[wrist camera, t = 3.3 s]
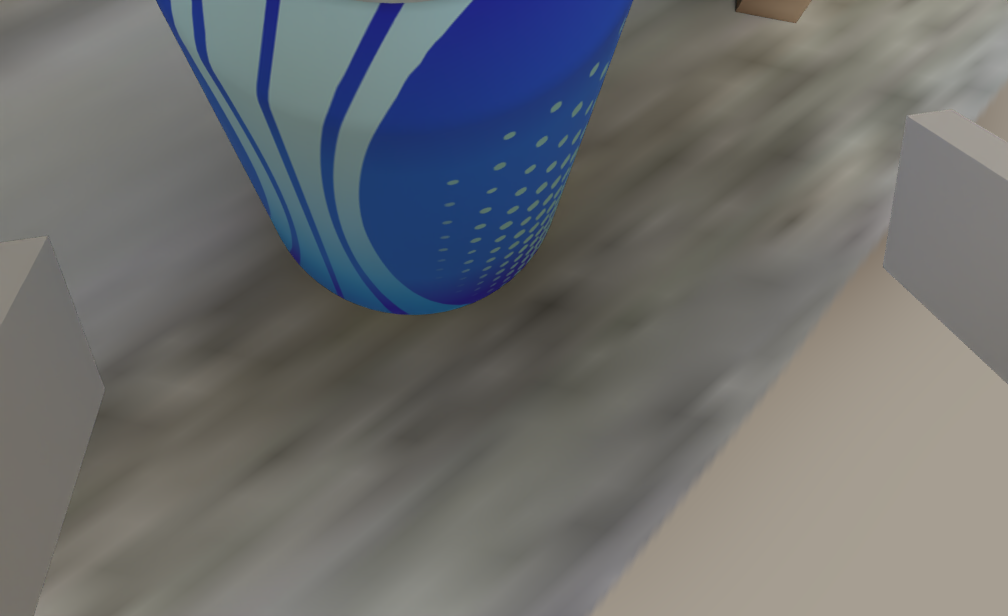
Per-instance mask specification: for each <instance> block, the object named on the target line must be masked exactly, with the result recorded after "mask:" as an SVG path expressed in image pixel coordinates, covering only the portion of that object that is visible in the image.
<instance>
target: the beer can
mask: <svg viewBox="0 0 1008 616" xmlns="http://www.w3.org/2000/svg"><path fill="white" fill-rule="evenodd" d="M156 1H157V3H158V5H159V7H160V9H161V11H162V13H163V15H164V17H165V19H166V21H167V22H168V24H169V26H170V28H171V30H172V32H173V34H174V36H175V38H176V40H177V41H178V43H179V45H180V47H181V49H182V51H183V53H184V55H185V57H186V59H187V61H188V62H189V64H190V66H191V68H192V70H193V72H194V74H195V76H196V78H197V80H198V81H199V83H200V85H201V87H202V89H203V91H204V93H205V95H206V97H207V99H208V101H209V102H210V104H211V106H212V108H213V110H214V112H215V114H216V116H217V118H218V120H219V121H220V123H221V125H222V127H223V129H224V131H225V133H226V135H227V137H228V139H229V140H230V142H231V144H232V146H233V148H234V150H235V152H236V154H237V156H238V158H239V160H240V161H241V163H242V165H243V167H244V169H245V171H246V173H247V175H248V177H249V179H250V180H251V182H252V184H253V186H254V188H255V190H256V192H257V194H258V196H259V198H260V199H261V201H262V203H263V205H264V207H265V209H266V211H267V213H268V215H269V217H270V219H271V220H272V222H273V224H274V226H275V228H276V230H277V232H278V234H279V236H280V238H281V239H282V241H283V243H284V244H285V246H286V248H287V249H288V251H289V252H290V254H291V255H292V256H293V257H294V259H295V260H296V261H297V263H298V264H299V265H300V266H301V267H302V268H303V269H304V270H305V271H306V272H307V273H308V274H309V275H310V276H311V277H312V278H314V279H315V280H316V281H317V282H318V283H319V284H321V285H322V286H324V287H325V288H327V289H328V290H330V291H331V292H333V293H335V294H336V295H338V296H340V297H342V298H343V299H346V300H348V301H350V302H352V303H355V304H357V305H360V306H363V307H366V308H369V309H372V310H377V311H381V312H385V313H393V314H401V315H423V314H434V313H440V312H446V311H450V310H453V309H457V308H461V307H463V306H466V305H469V304H471V303H474V302H476V301H478V300H480V299H482V298H484V297H486V296H488V295H490V294H491V293H493V292H495V291H496V290H498V289H499V288H501V287H502V286H503V285H505V284H506V283H507V282H509V281H510V280H511V279H512V278H513V277H514V276H515V275H517V274H518V273H519V272H520V271H521V270H522V269H523V268H524V266H525V265H526V264H527V263H528V262H529V261H530V260H531V258H532V257H533V255H534V254H535V253H536V251H537V250H538V248H539V247H540V245H541V243H542V241H543V240H544V238H545V236H546V234H547V232H548V229H549V227H550V225H551V222H552V219H553V217H554V214H555V211H556V209H557V206H558V203H559V200H560V198H561V195H562V192H563V190H564V187H565V184H566V181H567V179H568V176H569V173H570V170H571V168H572V165H573V162H574V160H575V157H576V154H577V151H578V149H579V146H580V143H581V141H582V138H583V135H584V132H585V130H586V127H587V124H588V122H589V119H590V116H591V113H592V111H593V108H594V105H595V102H596V100H597V97H598V94H599V92H600V89H601V86H602V83H603V81H604V78H605V75H606V73H607V70H608V67H609V64H610V62H611V59H612V56H613V54H614V51H615V48H616V45H617V43H618V40H619V37H620V35H621V32H622V29H623V26H624V24H625V21H626V18H627V15H628V13H629V10H630V7H631V5H632V2H633V0H156Z"/></svg>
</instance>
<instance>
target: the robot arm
mask: <svg viewBox="0 0 1008 616" xmlns="http://www.w3.org/2000/svg"><path fill="white" fill-rule="evenodd" d="M883 268H884V269H885V270H886V271H888V272H889V273H890V274H891V275H892V276H893V277H894V278H895V279H896V280H897V281H898V282H899V283H900V284H902V285H903V286H904V287H905V288H906V289H907V290H908V291H909V292H910V293H911V294H912V295H913V296H914V297H915V298H916V299H918V301H920V302H921V303H922V304H923V305H924V306H925V307H926V308H927V309H928V310H929V311H930V312H931V313H932V314H933V315H935V316H936V317H937V318H938V319H939V320H940V321H941V322H942V323H943V324H944V325H945V326H946V327H947V328H948V329H949V330H951V331H952V332H953V333H954V334H955V335H956V336H957V337H958V338H959V339H960V340H961V341H962V342H963V343H964V344H965V345H967V346H968V347H969V348H970V349H971V350H972V351H973V352H974V353H975V354H976V355H977V356H978V357H980V359H981V360H983V361H984V362H985V363H986V364H987V365H988V366H989V367H990V368H991V369H992V370H993V371H994V372H995V373H996V374H998V375H999V376H1000V377H1001V378H1002V379H1003V380H1004V381H1005V382H1006V383H1007V384H1008V142H1007V141H1005V140H1003V139H1002V138H1000V137H998V136H996V135H995V134H993V133H991V132H990V131H988V130H986V129H984V128H983V127H981V126H979V125H978V124H976V123H974V122H973V121H971V120H969V119H968V118H966V117H964V116H963V115H961V114H959V113H957V112H956V111H954V110H952V109H950V110H943V111H936V112H928V113H921V114H914V115H907V116H906V123H905V129H904V136H903V142H902V148H901V155H900V161H899V167H898V174H897V180H896V187H895V193H894V199H893V206H892V212H891V218H890V225H889V231H888V238H887V244H886V250H885V257H884V263H883ZM104 392H105V388H104V385H103V382H102V380H101V377H100V374H99V372H98V369H97V366H96V364H95V361H94V358H93V355H92V353H91V350H90V347H89V345H88V342H87V339H86V337H85V334H84V331H83V329H82V326H81V323H80V320H79V318H78V315H77V312H76V310H75V307H74V304H73V302H72V299H71V296H70V293H69V291H68V288H67V285H66V283H65V280H64V277H63V275H62V272H61V269H60V266H59V264H58V261H57V258H56V256H55V253H54V250H53V248H52V245H51V242H50V239H49V237H48V236H42V237H35V238H28V239H20V240H13V241H6V242H0V616H34V613H35V610H36V607H37V604H38V600H39V597H40V594H41V591H42V588H43V585H44V581H45V578H46V575H47V572H48V569H49V566H50V562H51V559H52V556H53V553H54V550H55V547H56V543H57V540H58V537H59V534H60V531H61V528H62V524H63V521H64V518H65V515H66V512H67V509H68V505H69V502H70V499H71V496H72V493H73V490H74V487H75V483H76V480H77V477H78V474H79V471H80V468H81V464H82V461H83V458H84V455H85V452H86V449H87V445H88V442H89V439H90V436H91V433H92V430H93V426H94V423H95V420H96V417H97V414H98V411H99V407H100V404H101V401H102V398H103V395H104Z"/></svg>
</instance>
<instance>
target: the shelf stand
mask: <svg viewBox="0 0 1008 616" xmlns="http://www.w3.org/2000/svg"><path fill="white" fill-rule="evenodd" d="M811 1H812V0H737V5H736V12H741V13H746V14H751V15H756V16H762V17H767V18H772V19H777V20H782V21H788V22H793V23H796V22H797V21H798V19H799V18H800V17H801V15H802V14H803V12H804V11H805V9H806V8H807V7H808V5H809V4H810V2H811Z"/></svg>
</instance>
